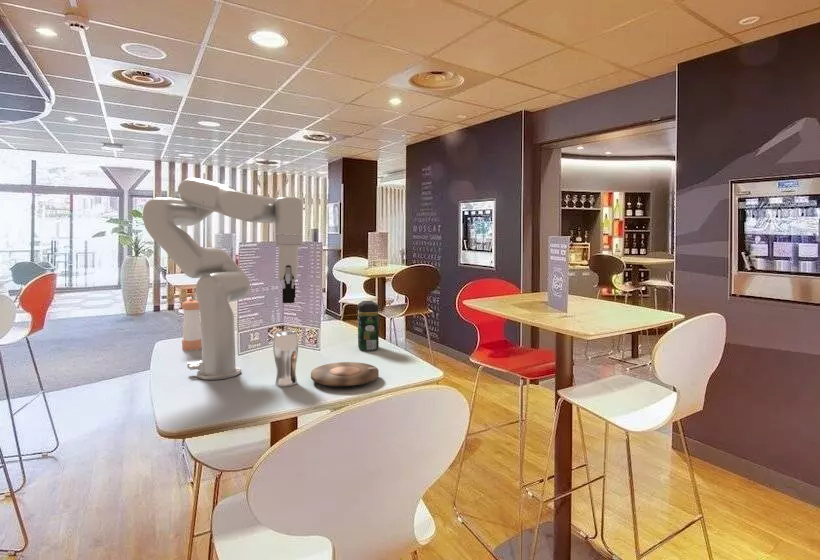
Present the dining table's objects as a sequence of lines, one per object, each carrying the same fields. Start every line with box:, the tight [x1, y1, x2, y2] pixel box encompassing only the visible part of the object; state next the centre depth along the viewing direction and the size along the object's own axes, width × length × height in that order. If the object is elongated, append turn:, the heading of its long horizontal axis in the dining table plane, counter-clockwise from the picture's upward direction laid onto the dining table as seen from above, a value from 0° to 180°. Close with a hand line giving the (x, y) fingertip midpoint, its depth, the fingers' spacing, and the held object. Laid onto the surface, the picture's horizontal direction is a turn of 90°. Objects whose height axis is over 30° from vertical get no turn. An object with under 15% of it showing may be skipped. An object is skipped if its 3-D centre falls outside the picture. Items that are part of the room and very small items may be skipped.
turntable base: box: [322, 383, 367, 389], centre depth 135 cm, size 14×14×2 cm
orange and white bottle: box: [180, 298, 202, 351], centre depth 172 cm, size 7×7×19 cm
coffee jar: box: [357, 300, 380, 352], centre depth 173 cm, size 10×8×19 cm
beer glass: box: [272, 330, 299, 388], centre depth 131 cm, size 7×7×15 cm
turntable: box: [310, 361, 380, 386], centre depth 135 cm, size 20×20×2 cm
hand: (289, 300), depth 130 cm, fingers open, 9 cm apart
